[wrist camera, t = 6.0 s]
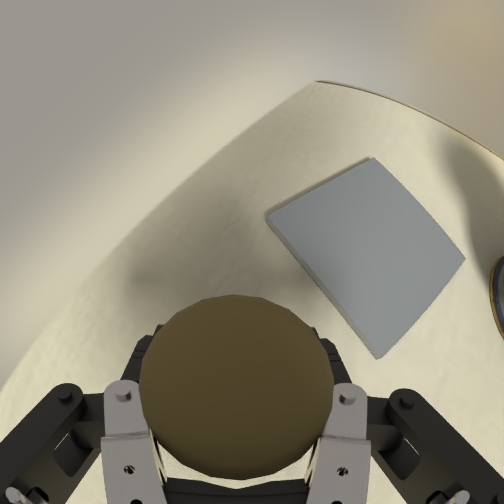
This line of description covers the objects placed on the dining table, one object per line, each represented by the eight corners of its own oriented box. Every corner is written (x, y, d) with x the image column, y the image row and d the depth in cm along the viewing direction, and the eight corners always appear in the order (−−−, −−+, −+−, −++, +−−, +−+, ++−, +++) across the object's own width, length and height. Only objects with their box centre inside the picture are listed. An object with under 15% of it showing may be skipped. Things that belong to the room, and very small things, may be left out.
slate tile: (370, 163, 24) (373, 157, 24) (460, 262, 20) (465, 258, 19) (265, 222, 21) (266, 215, 20) (376, 359, 17) (381, 358, 16)
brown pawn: (163, 377, 16) (63, 351, 6) (243, 319, 17) (255, 217, 8) (228, 456, 14) (219, 549, 4) (308, 394, 16) (412, 390, 6)
